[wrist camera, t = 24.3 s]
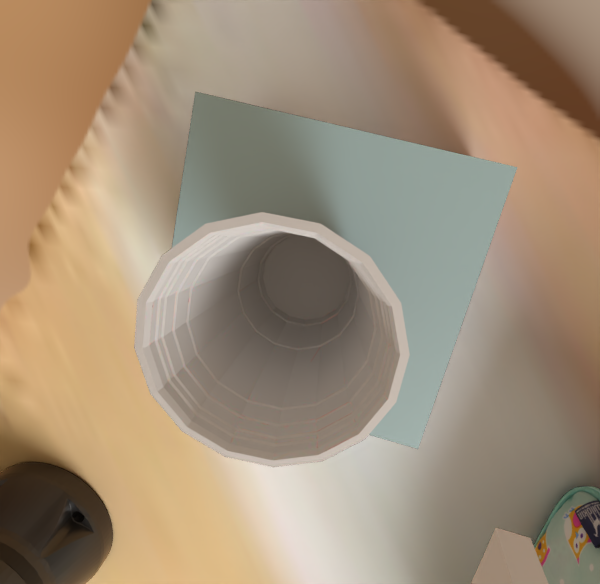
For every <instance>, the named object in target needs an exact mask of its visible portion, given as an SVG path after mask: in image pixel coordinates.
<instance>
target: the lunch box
mask: <svg viewBox="0 0 600 584" xmlns="http://www.w3.org/2000/svg"><path fill="white" fill-rule="evenodd" d="M534 548H535V551H536V553H537V556H538V558H539V561H540V563H541V566H542V568H543V571H544V574H545V576H546V579H547V581H548V584H600V489H599V488H596V487H593V486H583V487H577V488H574V489H572V490H570V491H569V492H567V493H566V494H565V495H564V496H563V497H562V498H561V499H560V501H559V502H558V503H557V505H556V506H555V508H554V510H553V511H552V513H551V515H550V517H549V518H548V520H547V522H546V524H545V526H544V528H543V529H542V531H541V533H540V535H539V536H538V538H537V540H536V542H535V544H534Z"/></svg>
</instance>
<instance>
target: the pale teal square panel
mask: <svg viewBox="0 0 600 584" xmlns="http://www.w3.org/2000/svg"><path fill="white" fill-rule="evenodd" d="M516 170H517V167H513V166H509V165H505V164H501V163H496V162H492V161H488V160H484V159H479V158H475V157H471V156H467V155H462V154H458V153H454V152H450V151H446V150H441V149H437V148H433V147H429V146H424V145H420V144H416V143H412V142H407V141H403V140H399V139H395V138H390V137H386V136H382V135H378V134H373V133H369V132H365V131H361V130H356V129H352V128H348V127H344V126H339V125H335V124H331V123H327V122H322V121H318V120H314V119H310V118H305V117H301V116H297V115H293V114H288V113H284V112H280V111H276V110H271V109H267V108H263V107H259V106H254V105H250V104H246V103H242V102H237V101H233V100H229V99H225V98H220V97H216V96H212V95H208V94H203V93H199V92H195V98H194V105H193V111H192V118H191V124H190V131H189V138H188V144H187V151H186V157H185V164H184V170H183V177H182V184H181V190H180V197H179V203H178V210H177V217H176V223H175V230H174V236H173V243H172V248H173V247H174V246H175V245H177V244H178V243H180V242H181V241H182V240H184V239H185V238H186V237H188V236H189V235H191V234H192V233H193V232H195V231H196V230H198V229H199V228H200V227H202V226H203V225H205V224H206V223H211V222H216V221H221V220H226V219H231V218H235V217H240V216H245V215H250V214H255V213H260V212H264V213H270V214H275V215H280V216H285V217H290V218H295V219H300V220H305V221H310V222H315V223H321V224H322V225H324V226H325V227H327V228H328V229H330V230H331V231H333V232H334V233H336V234H337V235H339V236H340V237H342V238H343V239H345V240H346V241H348V242H349V243H351V244H352V245H354V246H355V247H357V248H358V249H360V250H361V251H363V252H365V253H366V254H368V255H369V256H370V257H371V258H372V260H373V261H374V263H375V264H376V266H377V267H378V269H379V270H380V272H381V273H382V275H383V276H384V278H385V279H386V281H387V282H388V284H389V285H390V287H391V288H392V290H393V291H394V293H395V294H396V296H397V297H398V299H399V300H400V302H401V305H402V311H403V317H404V323H405V329H406V335H407V341H408V347H409V353H410V356H409V359H408V363H407V366H406V370H405V373H404V377H403V380H402V384H401V387H400V391H399V394H398V398H397V401H396V403H395V404H394V406H393V407H392V408H391V409H390V410H389V411H388V413H387V414H386V415H385V416H384V417H383V419H382V420H381V421H380V422H379V423H378V424H377V426H376V427H375V428H374V429H373V430H372V432H371V433H370V434H369V435H372V436H375V437H378V438H382V439H385V440H389V441H392V442H396V443H399V444H402V445H406V446H409V447H413V448H416V449H418V448H419V445H420V442H421V439H422V436H423V433H424V431H425V428H426V425H427V422H428V419H429V416H430V414H431V411H432V408H433V405H434V402H435V399H436V397H437V394H438V391H439V388H440V385H441V382H442V380H443V377H444V374H445V371H446V368H447V365H448V363H449V360H450V357H451V354H452V351H453V348H454V346H455V343H456V340H457V337H458V334H459V331H460V328H461V326H462V323H463V320H464V317H465V314H466V311H467V309H468V306H469V303H470V300H471V297H472V294H473V292H474V289H475V286H476V283H477V280H478V277H479V275H480V272H481V269H482V266H483V263H484V260H485V258H486V255H487V252H488V249H489V246H490V243H491V241H492V238H493V235H494V232H495V229H496V226H497V224H498V221H499V218H500V215H501V212H502V209H503V207H504V204H505V201H506V198H507V195H508V192H509V190H510V187H511V184H512V181H513V178H514V175H515V173H516Z"/></svg>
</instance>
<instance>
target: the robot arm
mask: <svg viewBox="0 0 600 584" xmlns="http://www.w3.org/2000/svg"><path fill="white" fill-rule="evenodd" d="M112 541H113V530H112V524H111V520H110V517H109V514H108V512H107V510H106V508H105V506H104V504H103V503H102V501H101V500H100V498H99V497H98V496H97V495H96V493H95V492H94V491H93V490H92V489H91V488H90V487H89V486H88V485H87V484H86V483H84V482H83V481H82V480H81V479H79V478H78V477H76V476H75V475H73V474H72V473H70V472H68V471H66V470H64V469H62V468H59V467H56V466H53V465H50V464H45V463H38V462H27V463H20V464H16V465H13V466H11V467H9V468H7V469H5V470H4V471H3V472H1V473H0V584H85V583H87V582H88V581H89V580H90V579H91V578H92V577H93V576H94V575H95V574H96V572H97V571H98V569H99V568H100V567H101V565H102V564H103V562H104V561H105V559H106V558H107V556H108V554H109V552H110V550H111V546H112ZM471 584H548V581H547V579H546V576H545V574H544V571H543V568H542V566H541V563H540V561H539V558H538V556H537V553H536V551H535V548H534V546H533V543H532V540H531V538H529V537H526V536H522V535H519V534H516V533H512V532H509V531H506V530H502V529H499V528H495V530H494V532H493V535H492V537H491V539H490V541H489V544H488V546H487V548H486V550H485V553H484V555H483V557H482V559H481V562H480V564H479V566H478V568H477V571H476V573H475V575H474V577H473V580H472V582H471Z"/></svg>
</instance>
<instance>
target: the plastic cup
mask: <svg viewBox="0 0 600 584" xmlns="http://www.w3.org/2000/svg"><path fill="white" fill-rule="evenodd" d="M134 348H135V351H136V354H137V357H138V360H139V363H140V365H141V368H142V371H143V374H144V377H145V380H146V383H147V386H148V388H149V391H150V394H151V395H152V396H153V398H154V399H155V400H156V401H157V402H158V403H159V405H160V406H161V407H162V408H163V409H164V411H165V412H166V413H167V414H168V415H169V416H170V418H171V419H172V420H173V421H174V422H175V424H176V425H177V426H178V427H179V428H180V430H181V431H182V432H184V433H186V434H187V435H189V436H191V437H192V438H194V439H196V440H197V441H199V442H201V443H203V444H204V445H206V446H208V447H209V448H211V449H213V450H214V451H216V452H218V453H219V454H221V455H223V456H224V457H229V458H233V459H238V460H243V461H247V462H252V463H257V464H261V465H266V466H270V467H278V466H287V465H295V464H303V463H312V462H320V461H324V460H325V459H327V458H329V457H331V456H333V455H335V454H337V453H339V452H341V451H343V450H345V449H347V448H349V447H351V446H353V445H355V444H357V443H359V442H361V441H362V440H364V439H366V437H367V436H368V435H369V434H370V433H371V432H372V430H373V429H374V428H375V427H376V426H377V424H378V423H379V422H380V421H381V420H382V419H383V417H384V416H385V415H386V414H387V413H388V411H389V410H390V409H391V408H392V407H393V406H394V404H395V403H396V401H397V398H398V394H399V391H400V387H401V384H402V380H403V377H404V373H405V370H406V366H407V363H408V359H409V356H410V353H409V347H408V341H407V335H406V329H405V323H404V317H403V311H402V305H401V302H400V300H399V299H398V297H397V296H396V294H395V293H394V291H393V290H392V288H391V287H390V285H389V284H388V282H387V281H386V279H385V278H384V276H383V275H382V273H381V272H380V270H379V269H378V267H377V266H376V264H375V263H374V261H373V260H372V258H371V257H370V256H369V255H368V254H366V253H365V252H363V251H361V250H360V249H358V248H357V247H355V246H354V245H352V244H351V243H349V242H348V241H346V240H345V239H343V238H342V237H340V236H339V235H337V234H336V233H334V232H333V231H331V230H330V229H328V228H327V227H325V226H324V225H322V224H321V223H315V222H310V221H305V220H300V219H295V218H290V217H285V216H280V215H275V214H270V213H264V212H260V213H255V214H250V215H245V216H240V217H235V218H231V219H226V220H221V221H216V222H211V223H206V224H205V225H203V226H202V227H200V228H199V229H198V230H196V231H195V232H193V233H192V234H191V235H189V236H188V237H186V238H185V239H184V240H182V241H181V242H180V243H178V244H177V245H175V246H174V247H173V248H171V249H170V250H168V251H167V252H166V253H164V254H163V255H162V256H161V258H160V260H159V262H158V263H157V265H156V267H155V269H154V271H153V272H152V274H151V276H150V278H149V280H148V282H147V283H146V285H145V287H144V289H143V291H142V292H141V294H140V296H139V298H138V302H137V317H136V331H135V346H134Z"/></svg>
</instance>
